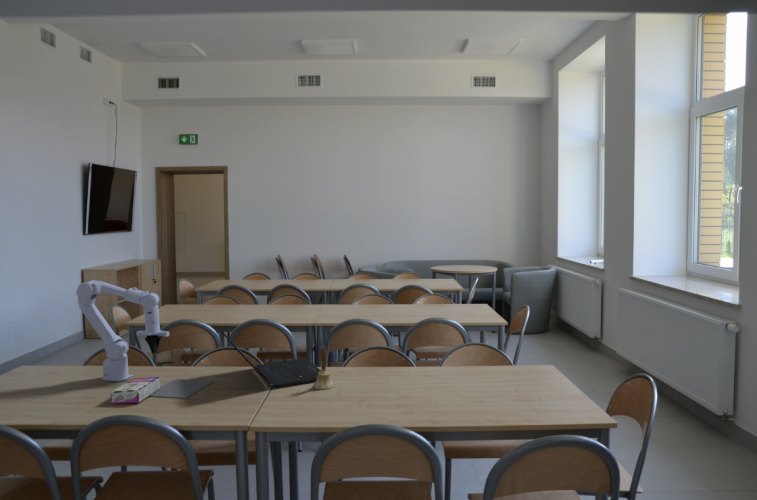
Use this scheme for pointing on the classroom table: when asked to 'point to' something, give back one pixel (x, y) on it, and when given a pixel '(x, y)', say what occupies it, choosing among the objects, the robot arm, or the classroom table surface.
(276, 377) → the laptop
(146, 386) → the candy bar box
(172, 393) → the mat
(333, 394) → the classroom table surface
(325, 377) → the hand bell
